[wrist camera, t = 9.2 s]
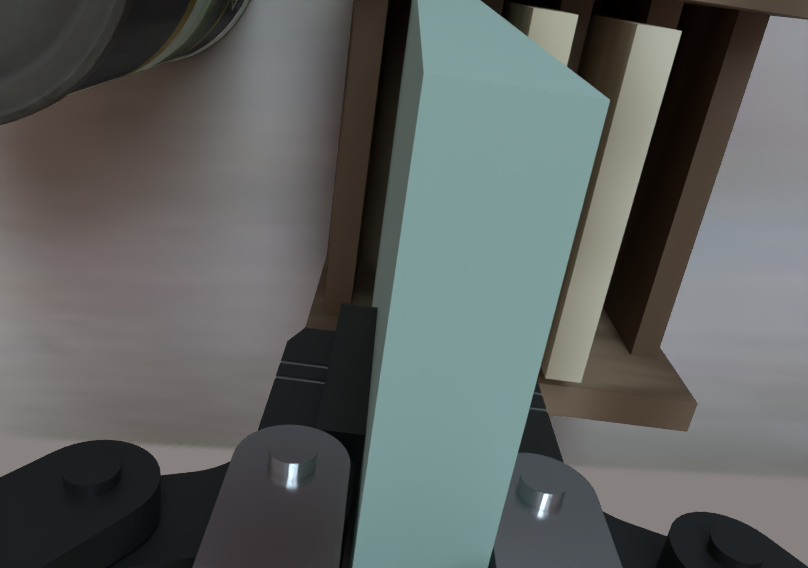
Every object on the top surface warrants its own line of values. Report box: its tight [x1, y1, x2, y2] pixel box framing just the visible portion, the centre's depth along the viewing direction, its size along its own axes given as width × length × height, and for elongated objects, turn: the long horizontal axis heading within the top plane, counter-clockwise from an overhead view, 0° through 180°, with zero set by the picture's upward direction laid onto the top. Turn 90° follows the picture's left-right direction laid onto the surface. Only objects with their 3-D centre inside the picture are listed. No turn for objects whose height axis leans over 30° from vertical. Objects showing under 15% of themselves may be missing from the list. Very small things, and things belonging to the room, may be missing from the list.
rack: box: [306, 0, 808, 432], centre depth 26 cm, size 14×15×10 cm
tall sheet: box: [347, 0, 610, 568], centre depth 16 cm, size 1×11×20 cm, turn 172°
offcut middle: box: [541, 13, 682, 383], centre depth 25 cm, size 1×11×10 cm, turn 172°
